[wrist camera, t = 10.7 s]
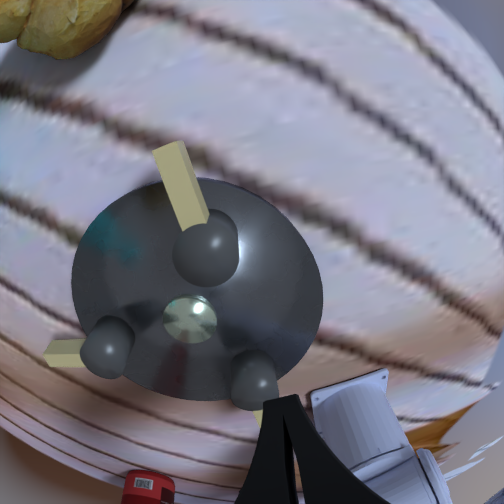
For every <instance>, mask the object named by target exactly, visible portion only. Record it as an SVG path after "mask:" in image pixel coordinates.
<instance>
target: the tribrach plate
mask: <svg viewBox="0 0 504 504" xmlns="http://www.w3.org/2000/svg"><path fill="white" fill-rule="evenodd" d="M196 178H197V181H198V184H199V187H200V190H201V192H202V195H203V198H204V200H205V203H206V206H207V209H216V210H220V211H222V212H224V213H226V214H227V215H228V216H229V217H231V219H232V220H233V221H234V223H235V225H236V227H237V231H238V242H239V264H238V267H237V270H236V272H235V273H234V275H233V276H232V277H231V278H230V279H229V280H228V281H226V282H225V283H223V284H221V285H218V286H215V287H199V286H195V285H192V284H190V283H189V282H187V281H186V280H184V279H183V278H182V277H181V276H180V275H179V274H178V272H177V271H176V269H175V267H174V264H173V260H172V250H173V246H174V243H175V241H176V239H177V238H178V236H179V234H180V232H181V230H182V229H181V227H180V224H179V222H178V219H177V217H176V214H175V211H174V209H173V206H172V204H171V201H170V199H169V196H168V193H167V191H166V188H165V186H164V183H163V180H161V181H157V182H153V183H149V184H147V185H145V186H142V187H140V188H137V189H135V190H133V191H131V192H129V193H127V194H126V195H124V196H122V197H121V198H119V199H118V200H116V201H114V202H113V203H111V204H110V205H109V206H108V207H107V208H106V209H104V210H103V211H102V212H101V213H100V214H99V215H98V216H97V217H96V218H95V220H94V221H93V222H92V223H91V224H90V226H89V227H88V229H87V230H86V232H85V234H84V235H83V237H82V239H81V241H80V243H79V246H78V248H77V251H76V254H75V258H74V262H73V267H72V280H71V285H72V296H73V301H74V306H75V310H76V313H77V316H78V319H79V321H80V324H81V326H82V328H83V330H84V332H85V334H86V336H87V337H88V335H89V334H90V332H91V330H92V329H93V327H94V326H95V324H96V322H97V321H98V319H99V318H101V317H103V316H106V315H112V316H116V317H119V318H121V319H123V320H124V321H125V322H127V323H128V324H129V325H130V326H131V328H132V329H133V331H134V334H135V343H134V345H133V348H132V350H131V353H130V355H129V358H128V360H127V363H126V366H125V368H124V371H123V373H122V374H123V375H124V376H126V377H127V378H129V379H130V380H132V381H134V382H135V383H137V384H139V385H141V386H143V387H145V388H147V389H150V390H152V391H155V392H157V393H160V394H163V395H167V396H171V397H175V398H180V399H186V400H196V401H216V400H225V399H231V361H232V359H233V358H234V357H235V356H236V355H237V354H239V353H241V352H244V351H247V350H259V351H263V352H265V353H267V354H268V355H270V356H271V358H272V359H273V363H274V368H275V374H276V379H277V380H279V379H280V378H281V377H283V376H284V375H285V374H287V373H288V372H289V371H290V370H291V369H292V368H293V367H294V366H295V365H296V364H297V363H298V362H299V361H300V360H301V358H302V357H303V356H304V355H305V353H306V352H307V350H308V349H309V347H310V345H311V344H312V342H313V340H314V338H315V335H316V333H317V331H318V328H319V324H320V320H321V316H322V309H323V287H322V282H321V277H320V273H319V269H318V266H317V264H316V261H315V259H314V256H313V254H312V252H311V251H310V249H309V247H308V245H307V244H306V242H305V240H304V239H303V237H302V236H301V235H300V233H299V232H298V231H297V229H296V228H295V227H294V226H293V224H292V223H291V222H290V221H289V219H288V218H287V217H285V216H284V215H283V214H282V213H281V212H280V211H279V210H278V209H277V208H276V207H275V206H273V205H272V204H270V203H269V202H267V201H266V200H265V199H263V198H262V197H260V196H258V195H256V194H254V193H252V192H250V191H248V190H246V189H244V188H242V187H239V186H236V185H234V184H231V183H228V182H225V181H220V180H214V179H209V178H199V177H196Z"/></svg>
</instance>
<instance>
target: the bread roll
mask: <svg viewBox="0 0 504 504" xmlns="http://www.w3.org/2000/svg"><path fill="white" fill-rule="evenodd" d="M133 1H134V0H0V43H7V42H10V41H11V40H15V39H17V45H18V46H19V47H20V48H22V49H27V50H29V51H30V52H35V53H42V54H45V55H48V56H52V57H54V58H55V59H70V58H74V57H76V56H78V55H80V54H81V53H83V52H84V51H86V50H88V49H89V48H91V47H92V46H94V45H95V44H97V43H99V42H100V41H101V40H102V38H103V37H104V36H105V35H107V34H108V33H109V31H110V30H111V29H112V27H113V26H114V24H115V22H116V21H117V19H118V17H119V16H120V14H121V12H122V11H123V10H125V9H126V8H127V7H128V6H129V5H130V4H131V3H132V2H133Z"/></svg>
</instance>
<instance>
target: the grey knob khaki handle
mask: <svg viewBox="0 0 504 504" xmlns="http://www.w3.org/2000/svg"><path fill="white" fill-rule="evenodd" d="M134 343H135V334H134V331H133V329H132V328H131V326H130V325H129V324H128V323H127V322H125V321H124V320H123V319H121V318H119V317H116V316H112V315H106V316H103V317H101V318H99V319H98V321H97V322H96V324H95V326H94V327H93V329H92V330H91V332H90V334H89V335H88V337H87V338H84V339H68V340H52V342H51V343H50V344H49V346H48V347H47V349H46V350H45V352H44V353H43V354H42V355H43V356H44V358H45V359H46V361H47V362H48V364H49V366H50V367H87V368H88V369H89V370H90V371H91V372H92V373H94V374H95V375H97V376H99V377H102V378H106V379H116V378H118V377H120V376H121V375H122V373H123V371H124V368H125V366H126V363H127V360H128V358H129V355H130V353H131V350H132V348H133V345H134Z"/></svg>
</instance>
